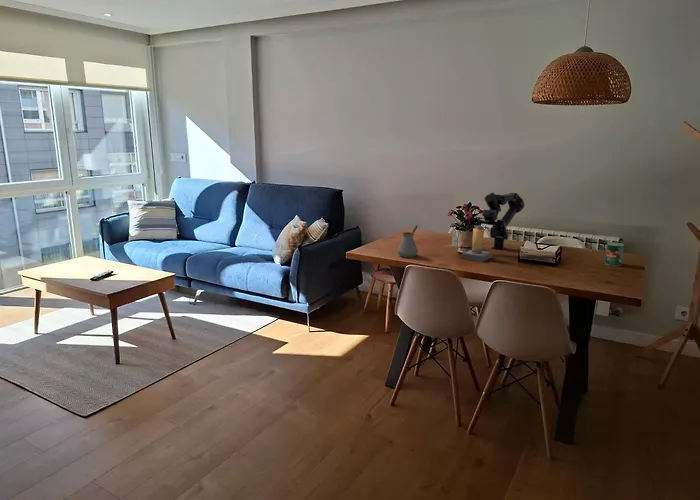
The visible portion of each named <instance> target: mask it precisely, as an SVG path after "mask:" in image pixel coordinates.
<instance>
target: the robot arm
mask: <svg viewBox="0 0 700 500" xmlns="http://www.w3.org/2000/svg"><path fill="white" fill-rule="evenodd" d="M484 201H485V203H486V205H487V207H488V208H489V209H482V213H481V216H483V217H482V218H483V219H481V217H479V216H476V217H477V218H478V220H477V223H476V224H475V226H482V224H483V225H488V226H491V228H490V232H489V233H490V238H491V239H493V246H491V247H490V248H491V249H494V250H504V249H506V247H505V246H504V245H505V240H508V239H509V234H508V231H507V227H508V225H509V224H510V222H511V221H512V220H513V219H514V217H515V215H516V214H518V213H520V212H521V211H522V210H523V209H524V208H525V202H524V199H523V198H522V197H521V196H519V193H517V192H508V193H505V194H495V192H490V193H488V194H487V195H486V196H485V197H484ZM506 204H507V205H508V210H507V211H506V212H505V214H504V215H503V216H502V218H501V219H498V215H499V213H500V212H502V209H501V208H502V207H501V206H505V205H506ZM475 226H474V227H475Z"/></svg>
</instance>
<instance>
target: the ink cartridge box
mask: <svg viewBox="0 0 700 500" xmlns="http://www.w3.org/2000/svg"><path fill="white" fill-rule="evenodd" d="M451 240H452V246H455V247H454V248H457V247H456V246H457V237H456V233H455V231H454V229H453V228H452V239H451Z"/></svg>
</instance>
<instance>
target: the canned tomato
mask: <svg viewBox="0 0 700 500" xmlns="http://www.w3.org/2000/svg"><path fill="white" fill-rule="evenodd" d="M624 247H625V244H624V243H621V242H615V241H614V242H613V241H609V242H607V243H606V249H605V256H604V257H605V258H604V263H605V264H604V265H606V264H607V266H609V265H612V266H611V267H622V261H623V255H624Z"/></svg>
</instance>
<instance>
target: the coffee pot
mask: <svg viewBox="0 0 700 500" xmlns="http://www.w3.org/2000/svg"><path fill="white" fill-rule="evenodd" d="M418 228H419V225H418V224H416V225H415V226H414V228H413V230H412V232H409V231H408V232H405V231H404V232H402V233H401V234H402V239H401V241H400V243H399V246H398V248H397V251H396V252H397V254H398V255H399V256H400V255H401V256H403V257H402V258H407V257H410V258H414V257H415V256H416V255H418V253H419V250H418V247H417V245H416V243H415V239H414V236H415V232H416V231H417V229H418ZM401 256H400V257H401Z"/></svg>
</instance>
